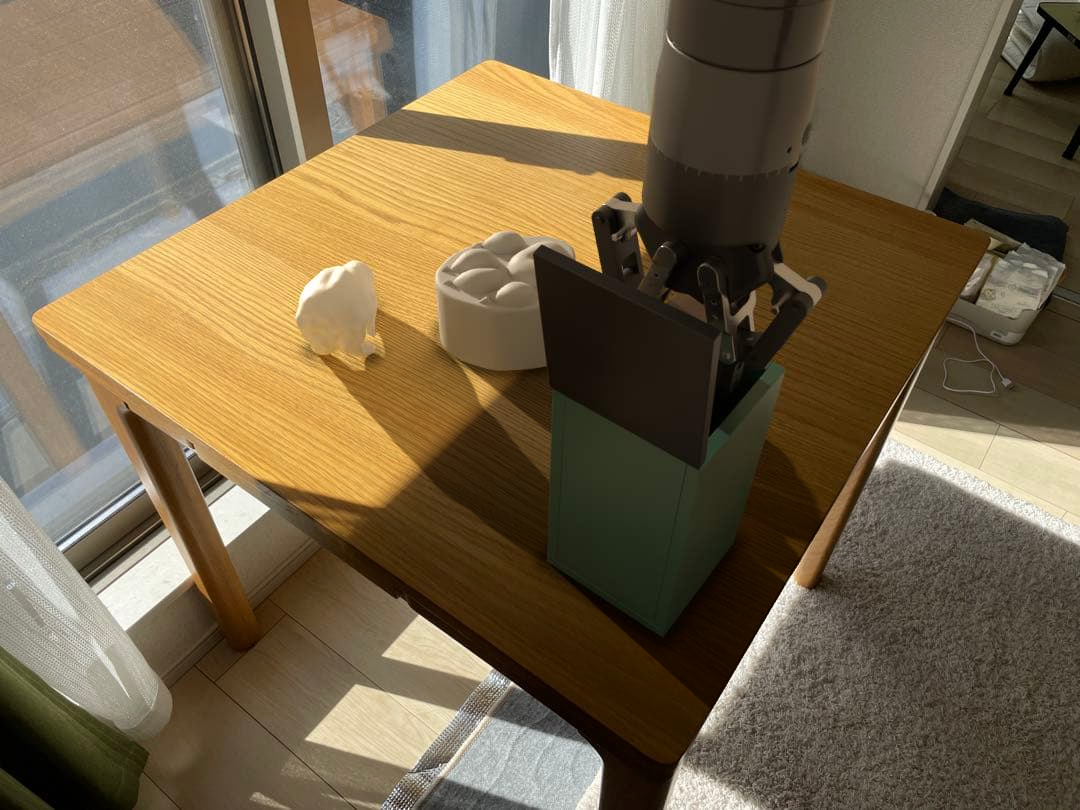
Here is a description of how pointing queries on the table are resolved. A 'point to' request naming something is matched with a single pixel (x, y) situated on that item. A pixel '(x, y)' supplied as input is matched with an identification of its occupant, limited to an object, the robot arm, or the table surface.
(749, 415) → the green box
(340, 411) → the table surface
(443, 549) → the table surface
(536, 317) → the lumpy-topped squat cylinder
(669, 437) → the box lid
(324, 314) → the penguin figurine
